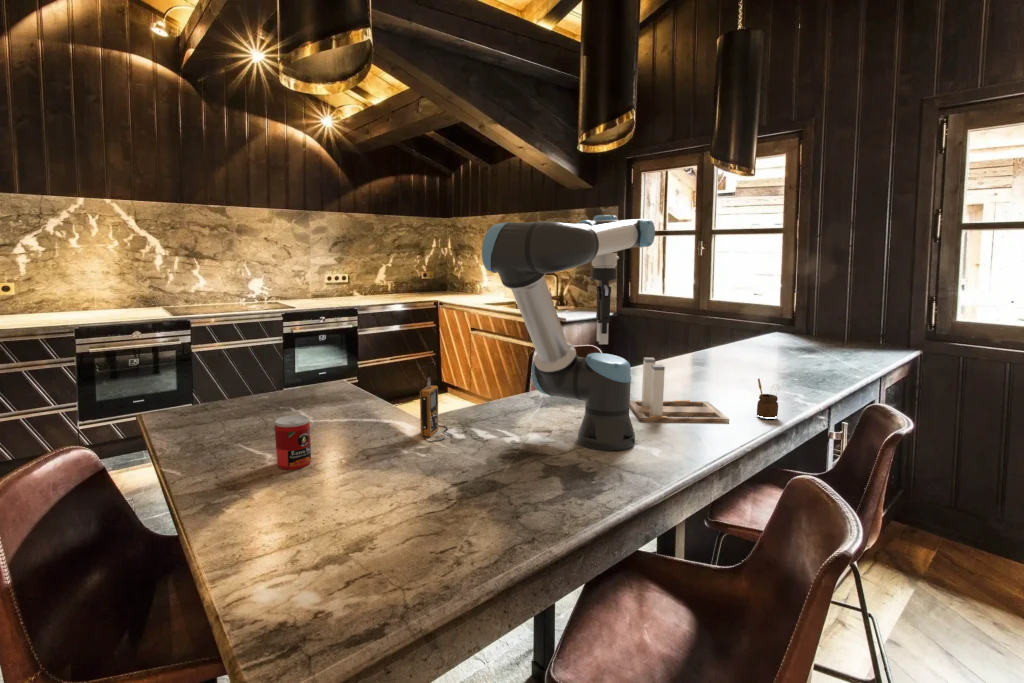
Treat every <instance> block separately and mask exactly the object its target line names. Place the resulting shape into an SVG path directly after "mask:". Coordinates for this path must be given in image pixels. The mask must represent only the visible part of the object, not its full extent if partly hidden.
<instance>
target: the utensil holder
mask: <svg viewBox="0 0 1024 683" xmlns="http://www.w3.org/2000/svg"><path fill="white" fill-rule="evenodd" d="M757 382H758V383H757V384H758V387H759V390H760V394H759V395H758V401H757V405H756V406H757V407H756V416H757V415H759V416H763V417H775V416H777V415H779V402H778V395H779V392H780V385H779V384H777V383H774V384H772V386H771V388H770V391H769V392H773V393H763V390H762V388H763V387H762V382H761V379H760V378H757ZM775 386H776V387H778V388H776V389H777V391H776V389H774V388H775ZM773 389H774V390H773ZM776 392H777V393H776ZM777 417H778V416H777Z"/></svg>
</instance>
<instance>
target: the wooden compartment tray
mask: <svg viewBox="0 0 1024 683" xmlns="http://www.w3.org/2000/svg"><path fill="white" fill-rule="evenodd" d="M629 409H630V410H631V411H632V412H633V414H634V415H635V416H636V418H637V419H638V421H639V422H640V423H702V424H703V423H704V424H705V423H709V424H711V423H717V424H722V423H723V424H728V425H730V418H729V417H727V415H726V414H724V413H723V412H722V411H720V409H718V408H717V407H716V406H714V405H713V404H712V403H710V401H705V400H704V401H703V400H702V401H697V400H696V401H693V400H687V399H683V400H682V399H681V400H679V399H677V400H676V399H674V400H663V414H662V416H650V406H642V400H630V406H629Z"/></svg>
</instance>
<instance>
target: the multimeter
mask: <svg viewBox="0 0 1024 683" xmlns="http://www.w3.org/2000/svg"><path fill="white" fill-rule="evenodd" d="M429 364H431V365H432V366H433V375H435V365H434V362H429V361H428V362H427V366H425V365H423V366H422V367H421V369H420V383H422V375H423V374H422V373H423V372H422V371H423V368H425V369H426V371H427V383H426V387H424V388H422V384H420V391H419V407H420V409H419V412H420V414H419V415H420V436H421V437H423V439H424V441H425V442H428V443H433V442H439V441H442V440H445V439H447V438H449V437H454V438H456V436H455V435H454V434H452V433H450V432H447V430H448V427H447V426H444V425H442V426H443V427H442V428H446V429H444V430H443V432H444V433H445V434H447V435H449V436H446V437H445V436H443V437H440V438H437V439H434V440H427V439H426V438H431V437H432V435H434V434H435V433H436V432H438V431H439V427H441V425H439V387H438V385H436V382H435V380H436V379H433V385H431V370H430V366H429ZM425 436H426V437H425Z"/></svg>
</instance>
